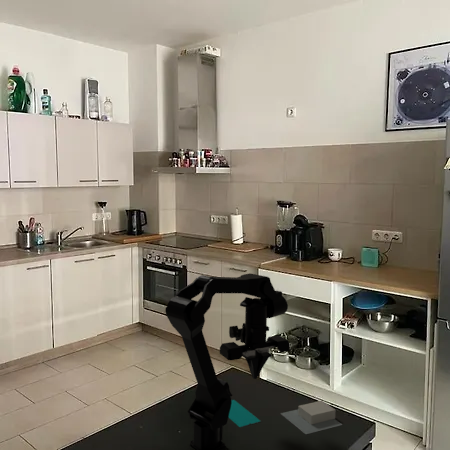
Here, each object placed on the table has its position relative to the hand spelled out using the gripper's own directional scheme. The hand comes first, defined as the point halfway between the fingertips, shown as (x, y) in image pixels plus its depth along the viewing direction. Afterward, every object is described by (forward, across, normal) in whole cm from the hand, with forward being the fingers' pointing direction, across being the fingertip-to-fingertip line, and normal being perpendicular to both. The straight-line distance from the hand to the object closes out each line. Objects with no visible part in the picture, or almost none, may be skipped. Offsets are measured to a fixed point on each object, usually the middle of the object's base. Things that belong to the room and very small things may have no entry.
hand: (254, 378), depth 124 cm
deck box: (+10, -13, +6) cm, 17 cm away
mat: (+12, -15, +6) cm, 20 cm away
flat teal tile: (+13, +2, -6) cm, 14 cm away
